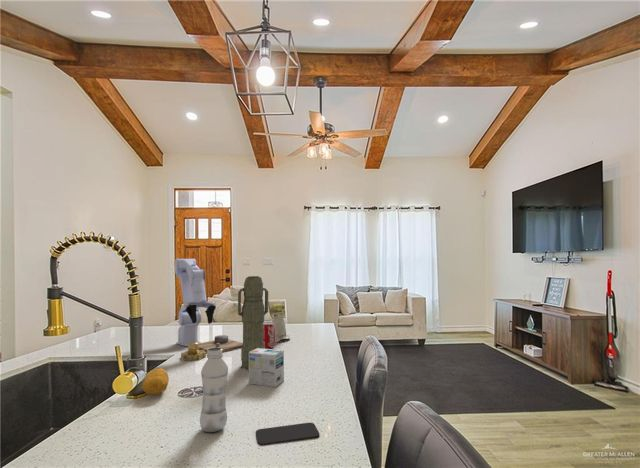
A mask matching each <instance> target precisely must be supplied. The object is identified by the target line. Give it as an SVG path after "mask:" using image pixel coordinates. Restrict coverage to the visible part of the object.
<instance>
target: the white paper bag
mask: <svg viewBox="0 0 640 468" xmlns="http://www.w3.org/2000/svg"><path fill="white" fill-rule="evenodd" d="M268 310H269V314H270V315H271V316H273V318H272V320H271V322H273V323H274V326H275V344H276V343H278V342H280V341H281V340H285V339H287V340H289V339H291V336H290V335H288V334H287V329H286V323H285V319H284V316H285V315H286V313H285V304H284V303H281V302H278V303H273V305H272V306H271V308H269V307H268Z"/></svg>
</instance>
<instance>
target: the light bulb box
mask: <svg viewBox="0 0 640 468" xmlns="http://www.w3.org/2000/svg"><path fill="white" fill-rule="evenodd" d="M284 352H285V351H284V350H283V349H274V348H273V349H261V348H257V349H255V350H253V351H250V352H249V369H248V383H247V384H250V385H257V386H264V387H271V388H273V387H274V388H277V387H278V386H279V385H281V384H282V383H283V382H284V381H285V353H284Z"/></svg>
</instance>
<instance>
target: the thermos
mask: <svg viewBox="0 0 640 468" xmlns="http://www.w3.org/2000/svg"><path fill="white" fill-rule="evenodd" d="M242 292H243V304H242ZM263 297H264V299H263ZM268 313H269V290H268V289H267V288H266V287H264V282H263V279H262V277H260V276H259V275H256V276H255V275H252V276H251V275H250V276H247V277H245V279H244V283H243V287H242V288H240V289H239V290H238V292H237V314H238V315H237V316H241V322H242V343H243V346H242V348H240V351H241V353H240V361H241V368H242V369H244V370H245V369H246V370H249V352H250V351H253V350H255V349H257V348H261V349H264V347H263V322H265V316H266V314H268Z"/></svg>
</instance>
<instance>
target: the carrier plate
mask: <svg viewBox="0 0 640 468" xmlns="http://www.w3.org/2000/svg"><path fill="white" fill-rule="evenodd" d="M242 346H243V342H242V341H236V340H234V339H229V335H226V334H223V335H222V334H220V335H216V336H214V340H209V341H204V342H201V343H199V350H205V352H206V353H207V350H208V349H210V348H222V354H223V353H225V352H229V351H235V350H239V349H242ZM234 349H235V350H234Z"/></svg>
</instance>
